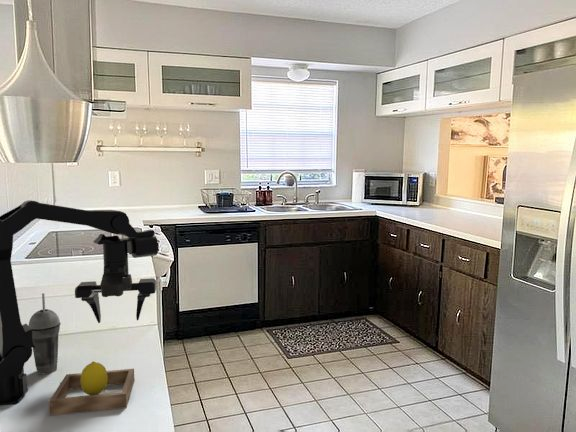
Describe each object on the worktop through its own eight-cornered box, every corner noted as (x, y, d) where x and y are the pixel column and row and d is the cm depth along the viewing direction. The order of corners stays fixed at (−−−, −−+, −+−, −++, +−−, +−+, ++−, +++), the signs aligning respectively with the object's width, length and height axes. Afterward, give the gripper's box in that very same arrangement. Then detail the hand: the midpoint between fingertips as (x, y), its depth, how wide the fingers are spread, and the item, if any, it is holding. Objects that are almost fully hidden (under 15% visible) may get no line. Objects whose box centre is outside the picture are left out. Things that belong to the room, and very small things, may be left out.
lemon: (82, 393, 104) (80, 359, 103) (108, 389, 106) (106, 355, 105) (80, 404, 99) (78, 368, 98) (108, 400, 101) (106, 364, 100)
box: (49, 415, 95) (48, 401, 95) (67, 386, 108) (66, 374, 107) (126, 407, 98) (125, 393, 97) (134, 380, 110) (134, 368, 110)
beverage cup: (60, 362, 122) (56, 287, 120) (65, 371, 116) (61, 293, 114) (28, 369, 118) (24, 291, 116) (32, 379, 112) (27, 298, 110)
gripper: (67, 268, 106) (70, 334, 108) (151, 264, 110) (154, 328, 111) (79, 259, 117) (82, 320, 118) (155, 256, 121) (157, 315, 122)
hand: (118, 321), depth 117 cm, fingers open, 9 cm apart
